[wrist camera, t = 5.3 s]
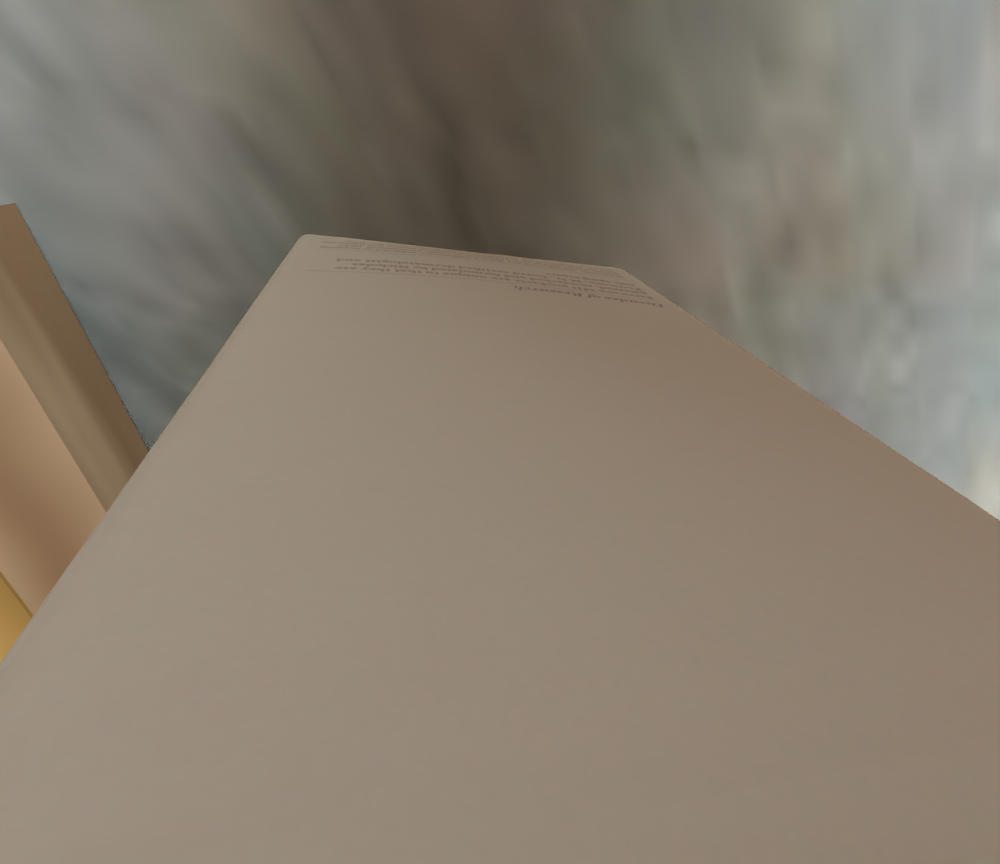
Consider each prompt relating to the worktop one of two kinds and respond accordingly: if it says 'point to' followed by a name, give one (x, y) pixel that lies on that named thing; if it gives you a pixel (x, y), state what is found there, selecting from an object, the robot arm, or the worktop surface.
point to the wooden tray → (49, 431)
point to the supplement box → (507, 601)
